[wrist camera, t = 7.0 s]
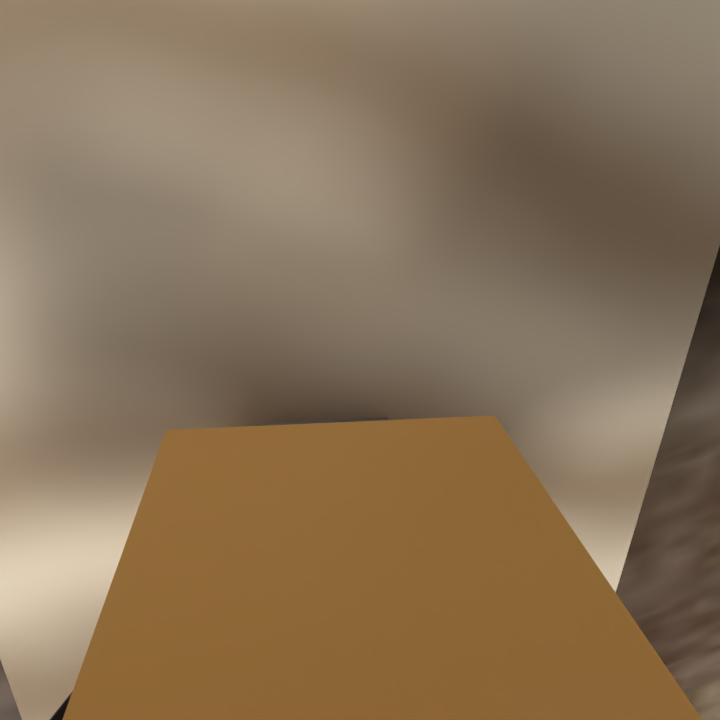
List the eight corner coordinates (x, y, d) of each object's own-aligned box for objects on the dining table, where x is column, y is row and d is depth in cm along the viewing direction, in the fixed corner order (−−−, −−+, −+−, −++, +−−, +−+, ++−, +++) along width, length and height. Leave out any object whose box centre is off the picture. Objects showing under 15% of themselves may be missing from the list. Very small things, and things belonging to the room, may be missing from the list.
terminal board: (561, 680, 19) (654, 874, 14) (58, 734, 17) (-29, 980, 12) (754, -36, 10) (1146, -151, 6) (-210, -101, 8) (-851, -365, 4)
